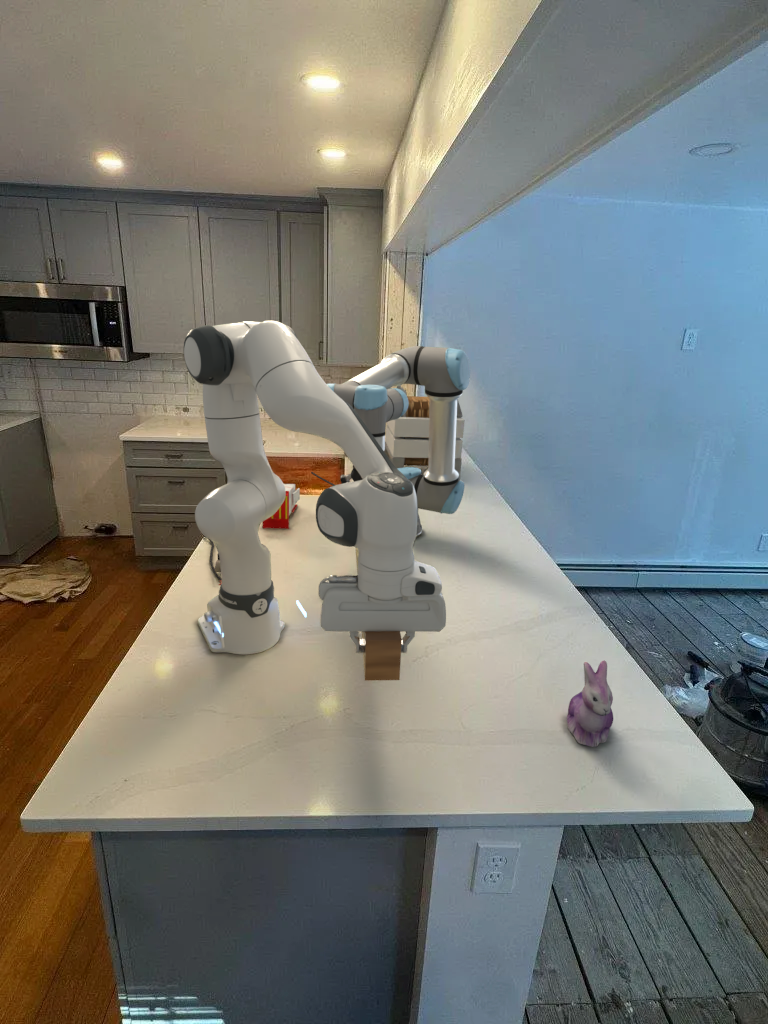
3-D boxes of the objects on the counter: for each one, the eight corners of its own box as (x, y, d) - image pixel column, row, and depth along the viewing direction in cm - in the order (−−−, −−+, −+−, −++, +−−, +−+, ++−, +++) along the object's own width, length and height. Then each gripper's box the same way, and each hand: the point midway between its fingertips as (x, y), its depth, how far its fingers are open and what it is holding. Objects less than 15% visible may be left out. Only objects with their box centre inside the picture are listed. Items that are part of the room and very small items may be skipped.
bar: (354, 536, 147) (355, 509, 144) (376, 536, 147) (377, 509, 145) (364, 680, 90) (365, 640, 88) (399, 680, 91) (401, 640, 88)
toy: (301, 479, 224) (291, 492, 194) (301, 512, 226) (291, 530, 197) (270, 478, 223) (256, 491, 194) (271, 511, 226) (256, 529, 197)
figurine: (591, 756, 102) (606, 687, 97) (551, 721, 111) (563, 655, 106) (628, 741, 107) (644, 673, 101) (587, 708, 115) (599, 644, 110)
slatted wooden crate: (382, 463, 289) (386, 382, 275) (445, 464, 293) (451, 384, 279) (390, 482, 257) (394, 392, 243) (460, 483, 261) (468, 394, 247)
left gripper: (318, 584, 85) (317, 662, 90) (452, 585, 87) (444, 662, 92) (319, 566, 91) (318, 640, 96) (444, 567, 93) (437, 640, 98)
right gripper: (329, 454, 131) (328, 547, 139) (409, 456, 132) (404, 547, 140) (329, 447, 138) (329, 535, 146) (406, 448, 139) (401, 535, 147)
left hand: (381, 651), depth 94 cm, fingers closed on bar, 5 cm apart
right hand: (366, 541), depth 143 cm, fingers closed on bar, 6 cm apart
